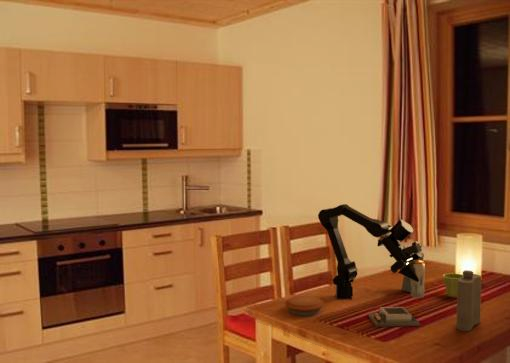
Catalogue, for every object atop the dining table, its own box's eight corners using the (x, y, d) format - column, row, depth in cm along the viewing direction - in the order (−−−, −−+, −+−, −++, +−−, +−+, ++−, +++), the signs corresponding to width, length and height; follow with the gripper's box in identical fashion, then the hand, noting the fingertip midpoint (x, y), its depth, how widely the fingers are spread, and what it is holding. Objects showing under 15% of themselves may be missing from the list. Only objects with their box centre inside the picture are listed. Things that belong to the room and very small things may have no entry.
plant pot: (441, 297, 233) (442, 277, 232) (443, 291, 242) (443, 272, 241) (465, 299, 229) (465, 279, 229) (465, 293, 238) (466, 274, 237)
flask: (465, 318, 206) (467, 266, 205) (481, 321, 203) (483, 268, 201) (452, 329, 195) (453, 274, 193) (469, 332, 191) (470, 276, 189)
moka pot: (426, 287, 248) (426, 244, 246) (419, 296, 234) (420, 251, 232) (405, 285, 252) (405, 242, 250) (397, 294, 238) (397, 249, 237)
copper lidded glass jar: (413, 297, 210) (413, 262, 209) (409, 294, 215) (409, 259, 214) (426, 297, 210) (426, 262, 209) (421, 293, 215) (422, 259, 214)
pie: (302, 303, 227) (302, 291, 227) (331, 311, 216) (331, 299, 215) (276, 311, 216) (276, 299, 216) (306, 321, 205) (306, 308, 205)
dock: (376, 326, 198) (376, 317, 197) (368, 316, 210) (368, 307, 209) (419, 326, 198) (419, 316, 198) (409, 315, 210) (409, 306, 210)
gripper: (398, 239, 206) (426, 272, 200) (418, 232, 220) (445, 263, 214) (379, 256, 212) (405, 289, 205) (400, 249, 226) (425, 279, 220)
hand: (421, 279), depth 211 cm, fingers closed on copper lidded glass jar, 5 cm apart
